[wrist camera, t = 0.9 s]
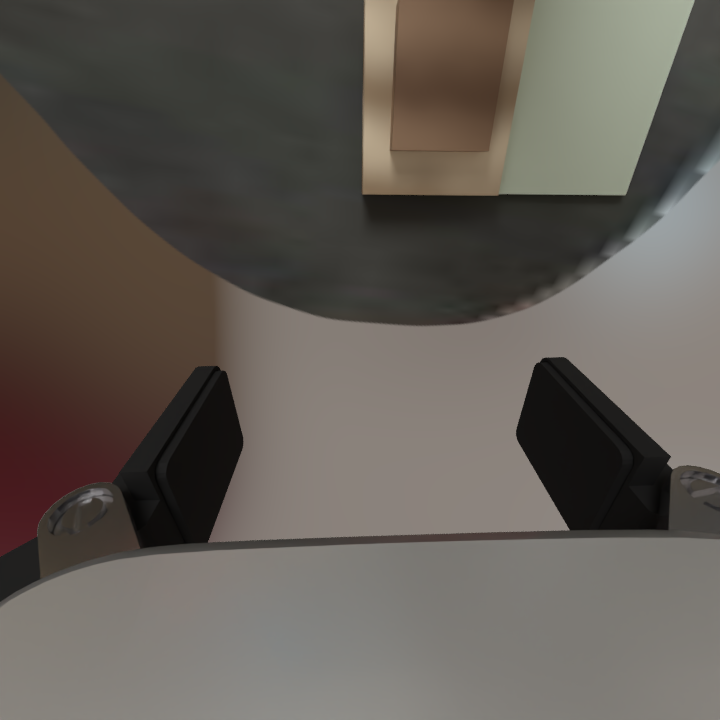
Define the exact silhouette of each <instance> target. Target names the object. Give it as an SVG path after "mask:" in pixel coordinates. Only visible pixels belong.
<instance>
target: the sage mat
mask: <svg viewBox="0 0 720 720" xmlns="http://www.w3.org/2000/svg"><path fill="white" fill-rule="evenodd" d="M694 1H695V0H535V4H534V9H533V14H532V19H531V25H530V30H529V35H528V41H527V46H526V51H525V56H524V62H523V67H522V72H521V78H520V83H519V88H518V93H517V99H516V104H515V109H514V115H513V120H512V125H511V131H510V136H509V141H508V146H507V152H506V157H505V162H504V168H503V173H502V178H501V183H500V189H499V194H551V195H626V193H627V190H628V187H629V184H630V181H631V179H632V176H633V173H634V170H635V167H636V164H637V162H638V159H639V156H640V153H641V150H642V148H643V145H644V142H645V139H646V136H647V133H648V131H649V128H650V125H651V122H652V119H653V116H654V114H655V111H656V108H657V105H658V102H659V100H660V97H661V94H662V91H663V88H664V85H665V83H666V80H667V77H668V74H669V71H670V68H671V66H672V63H673V60H674V57H675V54H676V51H677V49H678V46H679V43H680V40H681V37H682V35H683V32H684V29H685V26H686V23H687V20H688V18H689V15H690V12H691V9H692V6H693V3H694Z"/></svg>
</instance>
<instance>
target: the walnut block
mask: <svg viewBox="0 0 720 720" xmlns="http://www.w3.org/2000/svg"><path fill="white" fill-rule="evenodd" d="M513 4H514V0H398V1H397V5H396V20H395V42H394V64H393V86H392V108H391V130H390V151H431V152H488V151H489V147H490V141H491V136H492V130H493V124H494V118H495V112H496V106H497V100H498V94H499V88H500V82H501V76H502V70H503V64H504V58H505V52H506V46H507V40H508V34H509V28H510V22H511V16H512V10H513Z"/></svg>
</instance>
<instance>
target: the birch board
mask: <svg viewBox="0 0 720 720" xmlns="http://www.w3.org/2000/svg"><path fill="white" fill-rule="evenodd" d="M397 1H398V0H364V44H363V127H362V194H379V195H479V196H498V194H499V189H500V183H501V178H502V173H503V168H504V162H505V157H506V152H507V146H508V141H509V136H510V131H511V125H512V120H513V115H514V109H515V104H516V99H517V93H518V88H519V83H520V78H521V72H522V67H523V62H524V56H525V51H526V46H527V41H528V35H529V30H530V25H531V19H532V14H533V9H534V4H535V0H514V4H513V10H512V16H511V22H510V28H509V34H508V40H507V46H506V52H505V58H504V64H503V70H502V76H501V82H500V88H499V94H498V100H497V106H496V112H495V118H494V124H493V130H492V136H491V141H490V147H489V151H488V152H431V151H390V130H391V108H392V86H393V64H394V42H395V20H396V5H397Z"/></svg>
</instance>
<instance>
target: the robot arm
mask: <svg viewBox="0 0 720 720" xmlns="http://www.w3.org/2000/svg"><path fill="white" fill-rule="evenodd" d="M516 436H517V440H518V442H519V444H520V445H521V447H522V449H523V451H524V452H525V454H526V456H527V458H528V459H529V461H530V463H531V464H532V466H533V468H534V470H535V471H536V473H537V475H538V476H539V478H540V480H541V482H542V483H543V485H544V487H545V488H546V490H547V492H548V493H549V495H550V497H551V499H552V500H553V502H554V504H555V506H556V507H557V509H558V511H559V512H560V514H561V516H562V517H563V519H564V521H565V523H566V524H567V526H568V528H569V529H570V531H533V532H532V531H531V532H491V533H460V534H459V533H456V534H424V535H393V536H392V535H391V536H361V537H360V536H359V537H331V538H305V539H277V540H250V541H231V542H213V543H208V540H209V538H210V535H211V532H212V529H213V527H214V524H215V521H216V519H217V516H218V513H219V511H220V508H221V505H222V503H223V500H224V497H225V494H226V492H227V489H228V486H229V483H230V481H231V478H232V475H233V473H234V470H235V467H236V464H237V462H238V459H239V456H240V454H241V451H242V448H243V435H242V432H241V428H240V424H239V420H238V416H237V412H236V408H235V404H234V400H233V397H232V392H231V389H230V385H229V381H228V377H227V373H226V372H225V371H221V370H220V368H219V367H218V366H201V367H197V368H195V370H194V371H193V373H192V374H191V375H190V377H189V378H188V379H187V381H186V382H185V383H184V385H183V386H182V387H181V389H180V390H179V392H178V393H177V394H176V396H175V397H174V399H173V400H172V401H171V403H170V404H169V405H168V407H167V408H166V409H165V411H164V412H163V413H162V415H161V416H160V418H159V419H158V420H157V422H156V423H155V424H154V426H153V427H152V429H151V430H150V431H149V433H148V434H147V436H146V437H145V438H144V439H143V441H142V442H141V444H140V445H139V446H138V448H137V449H136V450H135V452H134V453H133V454H132V456H131V458H130V459H129V460H128V461H127V463H126V464H125V465H124V467H123V468H122V470H121V471H120V472H119V475H118V476H117V477H116V479H115V480H114V481H113V483H103V482H100V483H95V484H90V485H87V486H84V487H81V488H79V489H76V490H75V491H73V492H71V493H69V494H67V495H65V496H64V497H63V498H61V499H60V500H59V501H57V502H56V503H55V504H53V505H52V507H51V508H50V509H49V510H48V511H47V512H46V513H45V514H44V516H43V517H42V519H41V521H40V522H39V526H38V531H37V537H36V538H34V539H32V540H30V541H28V542H27V543H25V544H23V545H21V546H19V547H18V548H16V549H14V550H12V551H10V552H9V553H7V554H5V555H3V556H1V557H0V720H720V474H719V473H717V472H714V471H712V470H709V469H705V468H701V467H697V466H689V465H687V466H679V467H677V468H675V469H672V468H671V467H669V466H668V464H667V462H668V460H669V459H670V457H671V456H670V455H669V454H667V452H665V451H664V450H663V449H662V448H661V447H660V446H659V445H658V444H657V443H656V442H655V441H654V440H653V439H651V437H649V436H648V435H647V434H646V433H645V432H644V431H643V430H642V429H641V428H640V427H639V426H638V425H637V424H635V422H634V421H632V420H631V419H630V418H629V417H628V416H627V415H626V414H625V413H624V412H623V411H622V410H621V409H620V408H619V407H618V406H617V405H615V404H614V403H613V402H612V401H611V400H610V399H609V398H608V397H607V396H606V395H605V394H604V393H603V392H602V391H601V390H600V389H598V388H597V387H596V386H595V385H594V384H593V383H592V382H591V381H590V380H589V379H588V378H587V377H586V376H585V375H584V374H583V373H581V372H580V371H579V370H578V369H577V368H576V367H575V366H574V365H573V364H572V363H571V362H570V361H569V360H567V359H566V358H564V357H558V358H543V359H542V360H541V362H540V363H537V364H536V365H535V367H534V370H533V373H532V377H531V380H530V384H529V387H528V391H527V394H526V398H525V401H524V405H523V408H522V412H521V415H520V419H519V422H518V426H517V430H516Z"/></svg>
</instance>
